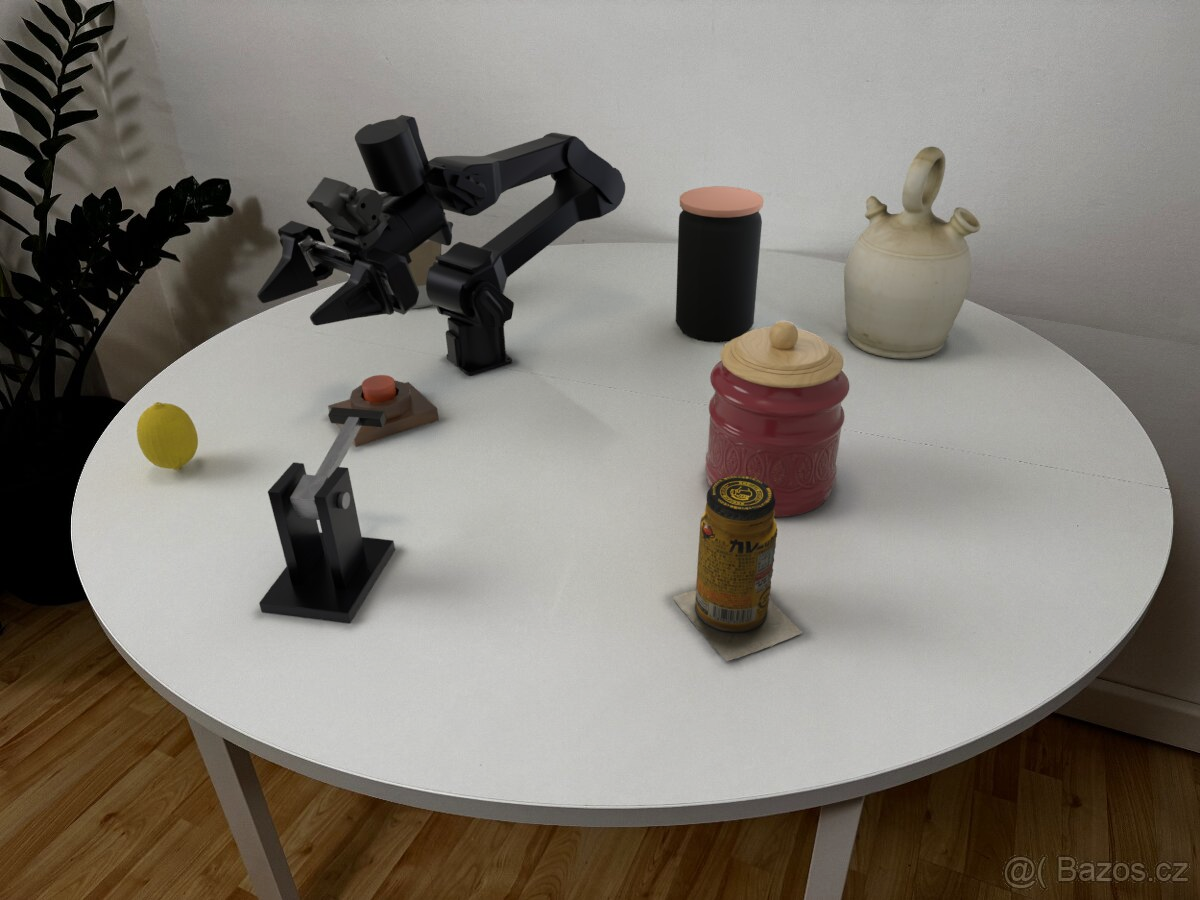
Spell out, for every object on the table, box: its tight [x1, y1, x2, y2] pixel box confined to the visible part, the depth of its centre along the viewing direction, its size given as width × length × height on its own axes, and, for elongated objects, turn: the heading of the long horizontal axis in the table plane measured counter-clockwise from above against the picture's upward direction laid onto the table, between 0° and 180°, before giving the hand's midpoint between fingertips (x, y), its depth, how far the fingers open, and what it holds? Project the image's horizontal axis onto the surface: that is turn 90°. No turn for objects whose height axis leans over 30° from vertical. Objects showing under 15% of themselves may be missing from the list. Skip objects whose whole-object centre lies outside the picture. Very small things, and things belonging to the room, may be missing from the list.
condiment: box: [671, 476, 803, 662], centre depth 71 cm, size 7×8×12 cm
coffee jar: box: [675, 185, 764, 344], centre depth 118 cm, size 11×11×18 cm
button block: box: [327, 379, 440, 448], centre depth 102 cm, size 10×8×4 cm
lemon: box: [136, 401, 199, 471], centre depth 93 cm, size 6×6×8 cm
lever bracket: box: [259, 462, 396, 624], centre depth 76 cm, size 10×8×11 cm
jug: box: [843, 146, 981, 360], centre depth 112 cm, size 15×16×25 cm
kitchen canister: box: [704, 320, 850, 517], centre depth 86 cm, size 13×13×18 cm
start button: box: [361, 374, 396, 402], centre depth 101 cm, size 4×4×2 cm
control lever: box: [290, 407, 386, 521], centre depth 77 cm, size 12×5×2 cm, turn 169°
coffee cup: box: [379, 192, 446, 309], centre depth 129 cm, size 11×11×15 cm
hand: (285, 310), depth 91 cm, fingers open, 9 cm apart
